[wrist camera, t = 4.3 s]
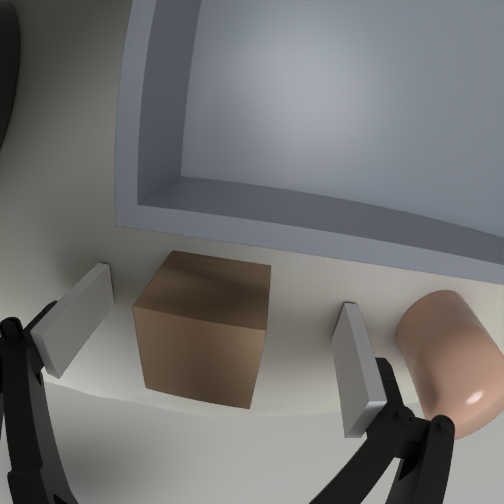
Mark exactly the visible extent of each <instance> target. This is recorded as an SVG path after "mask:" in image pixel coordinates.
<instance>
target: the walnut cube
mask: <svg viewBox="0 0 504 504" xmlns="http://www.w3.org/2000/svg"><path fill="white" fill-rule="evenodd" d="M270 276H271V266H270V265H263V264H256V263H250V262H243V261H237V260H230V259H224V258H218V257H211V256H205V255H198V254H192V253H186V252H180V251H172V252H171V253H170V255H169V256H168V257H167V259H166V260H165V261H164V263H163V264H162V266H161V267H160V268H159V270H158V271H157V272H156V274H155V275H154V277H153V278H152V279H151V281H150V282H149V284H148V285H147V286H146V288H145V289H144V291H143V292H142V294H141V295H140V296H139V298H138V299H137V301H136V302H135V304H134V305H133V312H134V320H135V327H136V334H137V341H138V348H139V354H140V360H141V365H142V371H143V376H144V381H145V386H146V388H148V389H151V390H155V391H159V392H163V393H167V394H171V395H176V396H180V397H184V398H189V399H194V400H199V401H204V402H209V403H214V404H220V405H226V406H232V407H238V408H245V409H250V405H251V400H252V396H253V391H254V387H255V382H256V377H257V373H258V368H259V363H260V359H261V354H262V349H263V344H264V340H265V335H266V328H267V316H268V303H269V290H270Z"/></svg>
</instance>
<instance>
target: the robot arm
mask: <svg viewBox="0 0 504 504" xmlns="http://www.w3.org/2000/svg"><path fill="white" fill-rule="evenodd" d="M18 61H19V27H18V21H17V17H16V13H15V11H14V9H13V7H12V5H11V4H10V3H9V2H8V1H7V0H0V145H1V143H2V140H3V137H4V133H5V130H6V127H7V123H8V119H9V115H10V111H11V106H12V102H13V96H14V91H15V85H16V78H17V71H18ZM113 305H114V297H113V290H112V283H111V275H110V266H109V265H108V264H103V263H98V264H97V265H96V266H94V267H93V268H92V269H91V270H90V271H89V272H88V273H87V274H86V275H85V276H84V277H83V278H82V279H81V280H80V281H79V282H78V283H77V284H76V285H74V286H73V287H72V288H71V289H70V290H69V291H68V292H67V293H66V294H65V295H64V296H63V297H62V298H61V299H60V300H59V301H53V302H52V303H50V304H48V305H47V306H46V307H45V308H44V309H43V310H42V312H40V313H39V314H38V315H37V316H36V317H35V318H34V319H33V320H32V321H31V322H30V323H29V324H28V325H27V326H26V327H25V328H24V329H23V327H22V324H21V322H20V320H19V319H18V318H16V317H9V318H6V319H4V320H2V321H1V322H0V335H1V337H0V438H1V429H2V422H3V415H4V417H5V426H6V435H7V443H8V450H9V456H10V461H11V466H12V470H11V471H10V472H8V475H7V478H8V484H9V488H10V492H11V496H12V500H13V504H78V502H77V500H76V499H75V497H74V496H73V494H72V492H71V490H70V488H69V485H68V482H67V479H66V476H65V473H64V470H63V467H62V463H61V460H60V457H59V453H58V450H57V446H56V442H55V438H54V434H53V430H52V426H51V421H50V416H49V411H48V406H47V400H46V395H45V388H44V382H43V375H42V372H41V369H42V368H43V366H45V369H46V371H47V373H48V374H49V375H52V376H54V377H56V378H58V379H60V377H61V376H62V374H63V373H64V371H65V370H66V369H67V367H68V366H69V364H70V363H71V362H72V360H73V359H74V357H75V356H76V355H77V353H78V352H79V350H80V349H81V348H82V346H83V345H84V344H85V342H86V341H87V339H88V338H89V337H90V335H91V334H92V333H93V331H94V330H95V329H96V327H97V326H98V325H99V323H100V322H101V321H102V320H103V318H104V317H105V316H106V314H107V313H108V312H109V310H110V309H111V308H112V307H113ZM331 344H332V350H333V356H334V362H335V369H336V375H337V382H338V389H339V396H340V403H341V411H342V418H343V427H344V435H345V438H361V437H362V436H363V434H364V433H365V432H366V434H367V439H366V441H365V442H364V443H363V444H362V446H361V447H360V448H359V449H358V451H357V452H356V453H355V454H354V455H353V457H352V458H351V459H350V460H349V461H348V462H347V464H346V465H345V466H344V467H343V468H342V469H341V470H340V472H339V473H338V474H337V475H336V476H335V477H334V478H333V479H332V480H331V481H330V482H329V484H328V485H327V486H326V487H325V488H324V489H323V490H322V491H321V492H320V493H319V494H318V495H317V496H316V497H315V498H314V499H313V500H312V501H311V502H310V503H309V504H360V503H361V502H362V501H363V500H364V498H365V497H366V496H367V495H368V493H369V492H370V491H371V489H372V488H373V486H374V485H375V484H376V483H377V481H378V480H379V479H380V477H381V476H382V474H383V473H384V471H385V470H386V469H387V467H388V466H389V464H390V463H391V461H392V460H393V458H394V457H396V458H400V459H401V460H400V463H399V466H398V469H397V472H396V476H395V478H394V481H393V484H392V487H391V490H390V493H389V495H388V498H387V500H386V503H385V504H443V499H444V495H445V491H446V486H447V481H448V476H449V471H450V465H451V459H452V451H453V445H454V437H455V425H454V423H453V421H452V420H451V419H450V418H449V417H447V416H445V415H436V416H435V417H434V418H433V419H432V420H431V421H430V420H425V419H421V418H417V417H415V415H414V413H413V412H412V410H410V409H409V408H408V407H406V406H404V404H403V400H402V397H401V394H400V391H399V388H398V384H397V382H396V378H395V375H394V372H393V369H392V366H391V365H390V363H389V362H388V361H387V360H386V359H385V358H375V357H374V353H373V350H372V347H371V344H370V340H369V337H368V334H367V331H366V328H365V325H364V322H363V319H362V316H361V313H360V310H359V307H358V304H351V303H344V306H343V309H342V312H341V315H340V317H339V320H338V323H337V326H336V329H335V332H334V334H333V337H332V340H331Z"/></svg>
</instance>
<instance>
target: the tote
mask: <svg viewBox="0 0 504 504" xmlns="http://www.w3.org/2000/svg"><path fill="white" fill-rule="evenodd" d="M115 210H116V226H118V227H125V228H132V229H139V230H146V231H153V232H160V233H167V234H174V235H181V236H188V237H195V238H202V239H209V240H216V241H222V242H229V243H236V244H243V245H250V246H256V247H263V248H270V249H276V250H283V251H290V252H296V253H303V254H310V255H316V256H323V257H330V258H336V259H343V260H349V261H356V262H362V263H369V264H375V265H382V266H388V267H395V268H401V269H407V270H414V271H420V272H427V273H433V274H439V275H446V276H452V277H458V278H464V279H471V280H477V281H483V282H489V283H495V284H502V285H504V0H133V2H132V7H131V12H130V16H129V22H128V27H127V33H126V39H125V45H124V51H123V58H122V66H121V74H120V83H119V93H118V105H117V119H116V139H115Z"/></svg>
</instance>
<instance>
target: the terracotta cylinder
mask: <svg viewBox="0 0 504 504" xmlns="http://www.w3.org/2000/svg"><path fill="white" fill-rule="evenodd" d="M397 342H398V345H399V347H400V350H401V352H402V355H403V357H404V360H405V362H406V365H407V368H408V370H409V373H410V376H411V378H412V381H413V384H414V387H415V389H416V392H417V395H418V398H419V401H420V404H421V407H422V410H423V413H424V416H425V419H426V420H430V421H431V420H432V419H433V418H434V417H435V416H436V415H445V416H447V417H449V418H450V419H451V420H452V421H453V423H454V425H455V437H454V440H457V439H460V438H463V437H465V436H468V435H470V434H472V433H474V432H476V431H477V430H479V429H481V428H482V427H484V426H485V425H487V424H488V423H489V422H491V421H492V420H493V419H495V418H496V417H497V416H498V415H499V414H500V413H501V412H502V411H503V410H504V355H503V354H502V352H501V351H500V349H499V348H498V346H497V345H496V343H495V342H494V340H493V339H492V338H491V336H490V335H489V333H488V332H487V330H486V329H485V327H484V326H483V325H482V323H481V322H480V321H479V319H478V318H477V316H476V315H475V314H474V312H473V311H472V310H471V308H470V307H469V306H468V304H467V303H466V302H465V301H464V299H463V298H462V297H461V296H460V295H459V294H458V293H456V292H454V291H449V290H442V291H437V292H433V293H431V294H428V295H426V296H425V297H423V298H421V299H420V300H418V301H417V302H416V303H415V304H413V305H412V306H411V307H410V308H409V309H408V311H407V312H406V313H405V314H404V316H403V317H402V319H401V321H400V323H399V326H398V329H397Z"/></svg>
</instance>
